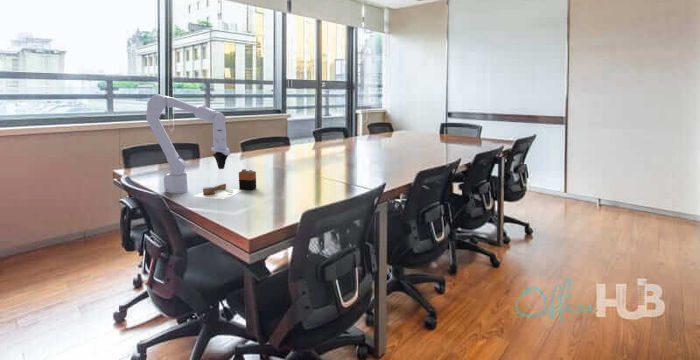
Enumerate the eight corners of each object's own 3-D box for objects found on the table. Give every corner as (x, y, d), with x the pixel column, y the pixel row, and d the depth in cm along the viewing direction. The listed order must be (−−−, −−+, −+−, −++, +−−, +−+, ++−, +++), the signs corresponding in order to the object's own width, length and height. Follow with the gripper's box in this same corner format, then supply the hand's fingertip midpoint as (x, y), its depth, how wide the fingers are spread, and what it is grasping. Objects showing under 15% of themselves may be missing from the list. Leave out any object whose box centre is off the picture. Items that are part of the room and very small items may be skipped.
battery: (243, 189, 201) (242, 168, 199) (256, 190, 200) (256, 169, 198) (239, 191, 197) (238, 170, 195) (252, 192, 196) (251, 171, 194)
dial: (209, 195, 185) (209, 190, 185) (200, 194, 187) (200, 188, 187) (229, 189, 197) (229, 183, 196) (220, 188, 199) (220, 182, 198)
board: (192, 198, 184) (192, 195, 184) (216, 189, 200) (216, 187, 200) (223, 201, 180) (222, 198, 180) (244, 192, 196) (244, 189, 195)
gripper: (235, 140, 190) (236, 170, 193) (220, 136, 201) (222, 165, 204) (220, 141, 186) (222, 172, 188) (206, 138, 196) (208, 167, 199)
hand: (221, 168), depth 196 cm, fingers closed
